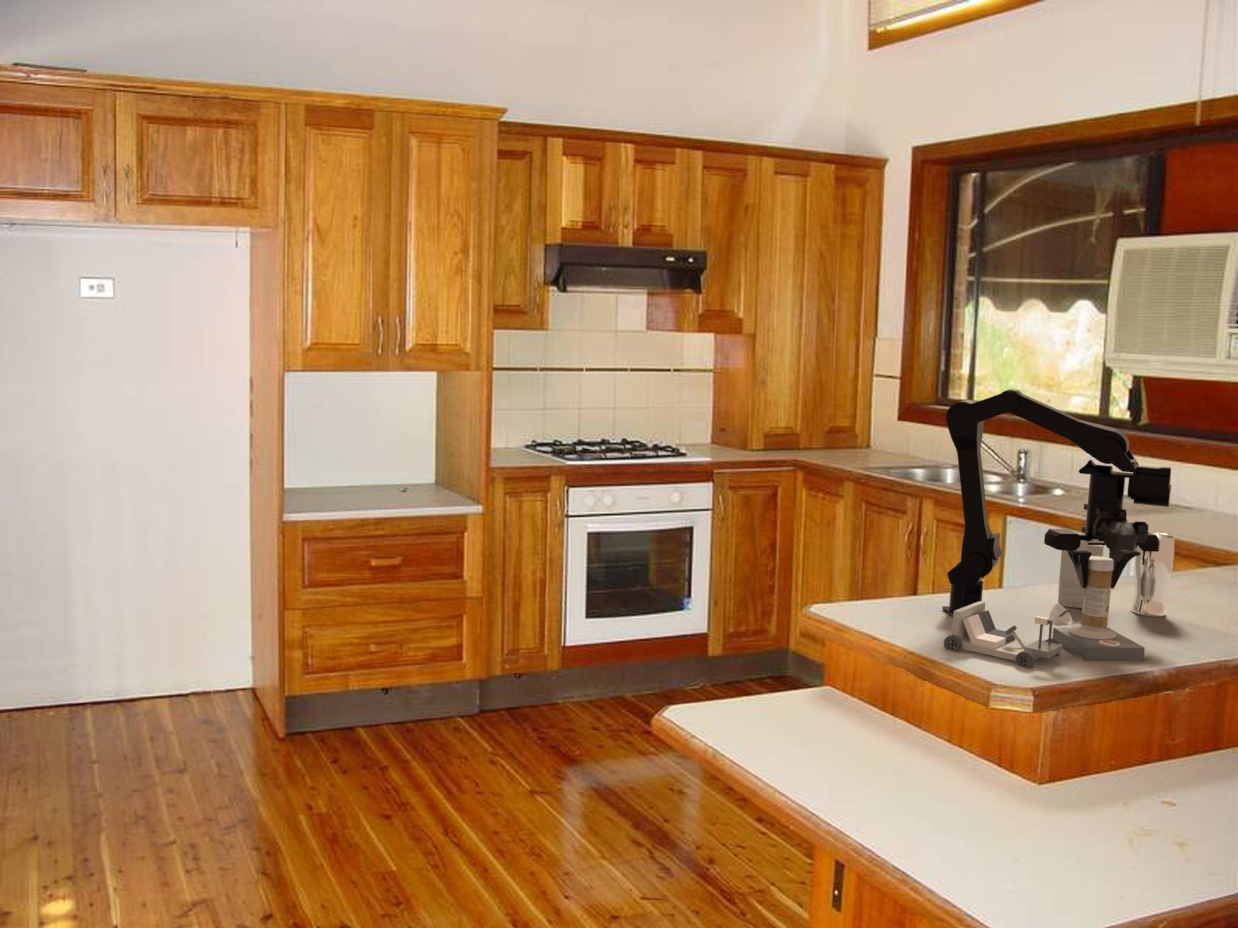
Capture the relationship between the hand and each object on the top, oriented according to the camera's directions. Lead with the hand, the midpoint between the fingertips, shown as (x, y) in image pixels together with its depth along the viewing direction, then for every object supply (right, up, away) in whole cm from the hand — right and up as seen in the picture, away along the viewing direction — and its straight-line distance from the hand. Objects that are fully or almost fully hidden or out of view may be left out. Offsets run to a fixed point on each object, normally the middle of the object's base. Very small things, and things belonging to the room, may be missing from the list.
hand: (1097, 588), depth 221 cm
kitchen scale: (-4, -9, -10) cm, 14 cm away
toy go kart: (-20, -10, -14) cm, 27 cm away
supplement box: (+4, -6, +22) cm, 23 cm away
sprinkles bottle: (0, -8, +1) cm, 8 cm away
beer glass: (+16, -7, +17) cm, 24 cm away
